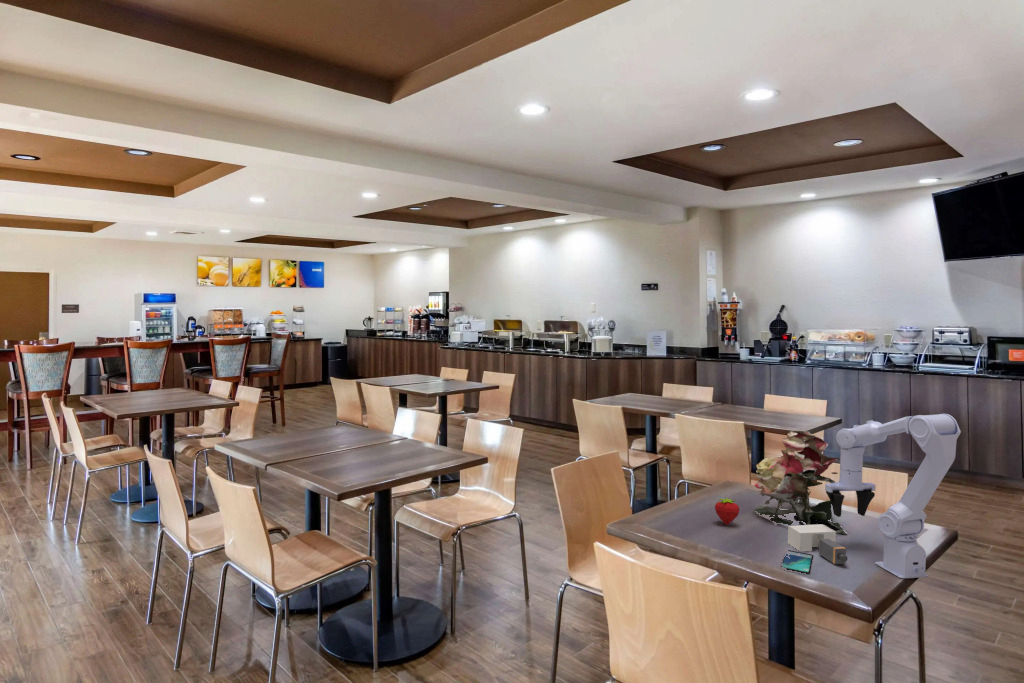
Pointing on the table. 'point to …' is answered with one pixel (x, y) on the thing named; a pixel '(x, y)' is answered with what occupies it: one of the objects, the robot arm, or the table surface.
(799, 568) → the smartphone
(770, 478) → the rose bouquet
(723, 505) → the strawberry
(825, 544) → the plug
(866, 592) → the table surface
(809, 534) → the socket block
